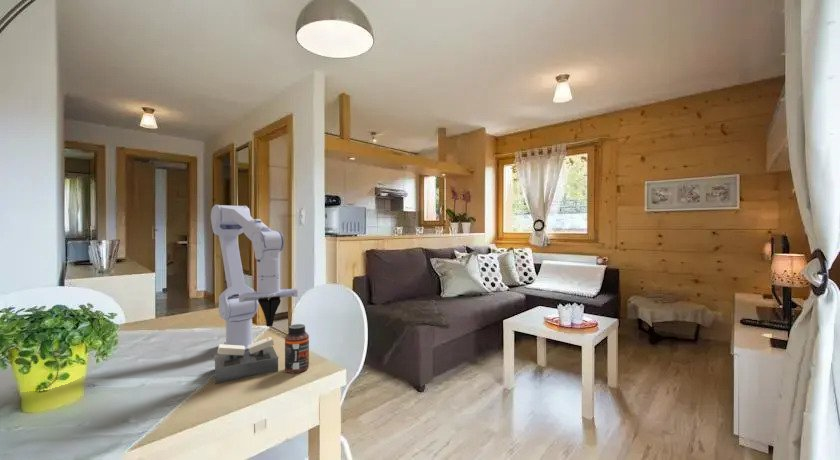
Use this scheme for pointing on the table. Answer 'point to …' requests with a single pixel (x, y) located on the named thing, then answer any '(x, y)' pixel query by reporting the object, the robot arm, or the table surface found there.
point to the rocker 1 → (231, 349)
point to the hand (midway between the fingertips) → (269, 325)
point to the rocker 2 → (260, 345)
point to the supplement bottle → (296, 349)
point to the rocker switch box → (245, 365)
